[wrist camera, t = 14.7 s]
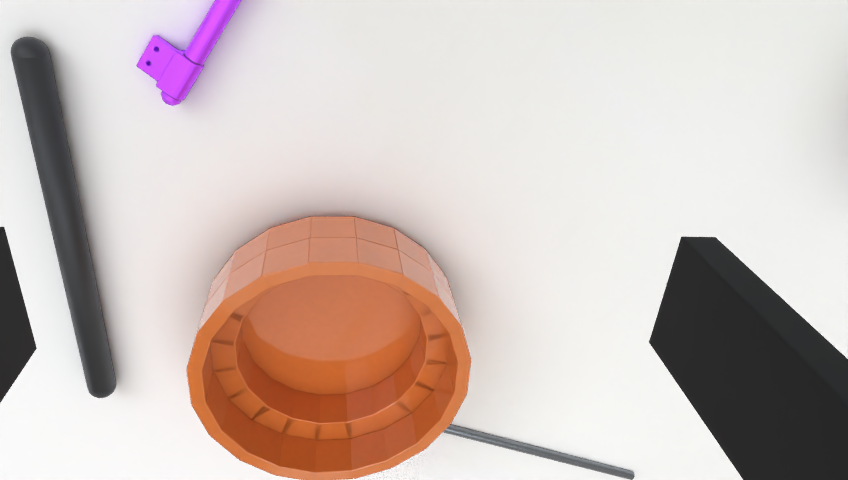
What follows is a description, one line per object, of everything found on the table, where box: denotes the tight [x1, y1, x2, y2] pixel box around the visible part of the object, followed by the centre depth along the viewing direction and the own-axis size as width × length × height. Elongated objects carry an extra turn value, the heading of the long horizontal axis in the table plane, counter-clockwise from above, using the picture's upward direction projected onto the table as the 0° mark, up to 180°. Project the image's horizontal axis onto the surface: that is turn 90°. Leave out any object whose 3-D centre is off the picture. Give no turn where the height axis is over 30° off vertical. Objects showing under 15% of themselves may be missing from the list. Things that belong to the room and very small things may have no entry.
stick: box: [11, 37, 116, 398], centre depth 35 cm, size 20×2×10 cm
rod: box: [443, 424, 634, 480], centre depth 49 cm, size 1×19×1 cm, turn 65°
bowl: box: [187, 216, 471, 480], centre depth 38 cm, size 16×16×6 cm
